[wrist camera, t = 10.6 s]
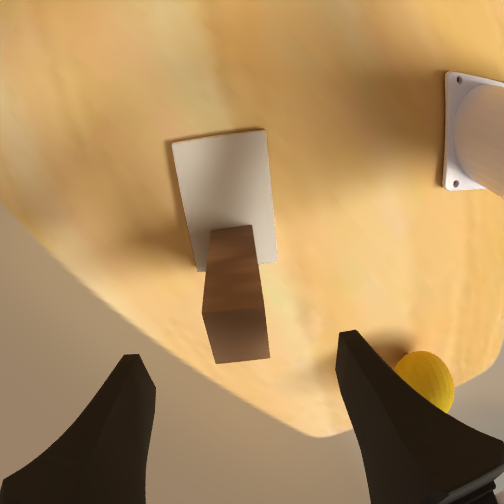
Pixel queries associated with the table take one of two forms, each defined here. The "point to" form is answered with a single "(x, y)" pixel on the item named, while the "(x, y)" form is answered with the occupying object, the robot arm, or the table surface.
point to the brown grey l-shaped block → (230, 235)
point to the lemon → (428, 377)
